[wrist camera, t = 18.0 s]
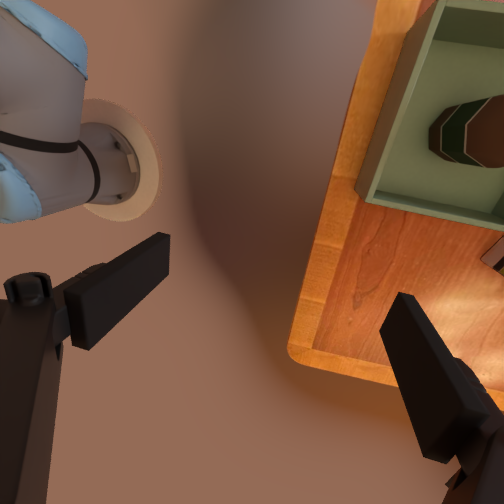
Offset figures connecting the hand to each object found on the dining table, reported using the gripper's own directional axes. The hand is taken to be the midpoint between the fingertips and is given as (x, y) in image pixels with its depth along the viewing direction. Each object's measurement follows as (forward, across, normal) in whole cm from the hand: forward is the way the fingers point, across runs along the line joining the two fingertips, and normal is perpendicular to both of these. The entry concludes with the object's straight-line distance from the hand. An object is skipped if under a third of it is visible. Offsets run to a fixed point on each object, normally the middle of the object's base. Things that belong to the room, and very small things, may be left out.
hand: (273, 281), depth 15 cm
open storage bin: (+35, +20, +12) cm, 42 cm away
